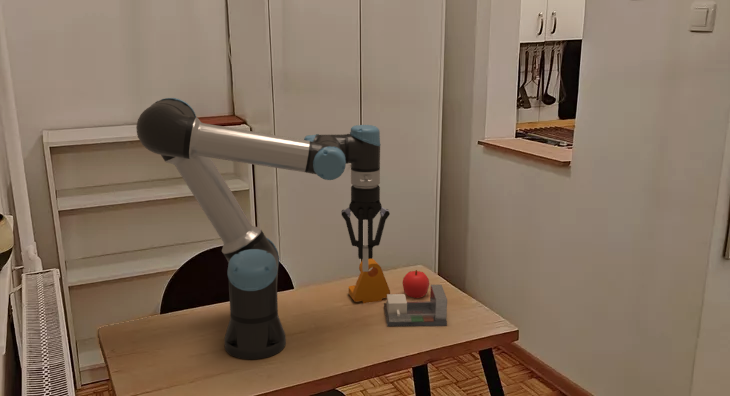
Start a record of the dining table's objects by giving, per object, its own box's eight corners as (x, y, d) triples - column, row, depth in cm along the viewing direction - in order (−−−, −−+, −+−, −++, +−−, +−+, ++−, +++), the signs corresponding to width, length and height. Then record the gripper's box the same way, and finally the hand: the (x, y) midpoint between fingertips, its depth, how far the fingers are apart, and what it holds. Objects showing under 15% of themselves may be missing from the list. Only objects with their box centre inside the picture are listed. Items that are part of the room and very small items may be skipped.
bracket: (381, 290, 200) (382, 253, 196) (390, 300, 193) (390, 261, 190) (347, 294, 196) (347, 256, 193) (354, 304, 190) (355, 265, 186)
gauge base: (387, 326, 177) (387, 301, 175) (383, 307, 188) (384, 283, 186) (446, 325, 177) (447, 301, 175) (439, 306, 189) (440, 283, 187)
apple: (415, 287, 202) (416, 263, 199) (434, 296, 196) (435, 270, 194) (396, 294, 197) (397, 269, 195) (415, 303, 191) (415, 277, 189)
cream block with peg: (389, 321, 176) (389, 308, 175) (386, 307, 185) (386, 294, 184) (407, 321, 177) (408, 307, 176) (404, 307, 185) (404, 294, 184)
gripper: (340, 189, 168) (341, 275, 174) (391, 188, 168) (390, 274, 175) (340, 181, 175) (341, 264, 182) (389, 181, 176) (388, 264, 182)
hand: (365, 269), depth 178 cm, fingers closed
